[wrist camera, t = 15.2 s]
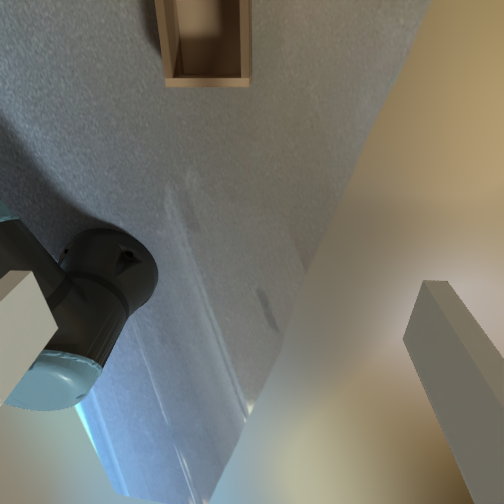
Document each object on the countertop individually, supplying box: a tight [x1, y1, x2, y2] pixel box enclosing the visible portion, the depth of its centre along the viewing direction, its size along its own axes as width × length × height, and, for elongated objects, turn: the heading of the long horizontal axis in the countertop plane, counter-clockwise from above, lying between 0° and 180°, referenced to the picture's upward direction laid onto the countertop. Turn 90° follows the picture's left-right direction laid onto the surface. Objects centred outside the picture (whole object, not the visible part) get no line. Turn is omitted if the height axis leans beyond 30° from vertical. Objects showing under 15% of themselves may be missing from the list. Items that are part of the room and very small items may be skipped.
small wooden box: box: [154, 0, 252, 87], centre depth 34 cm, size 9×9×6 cm
